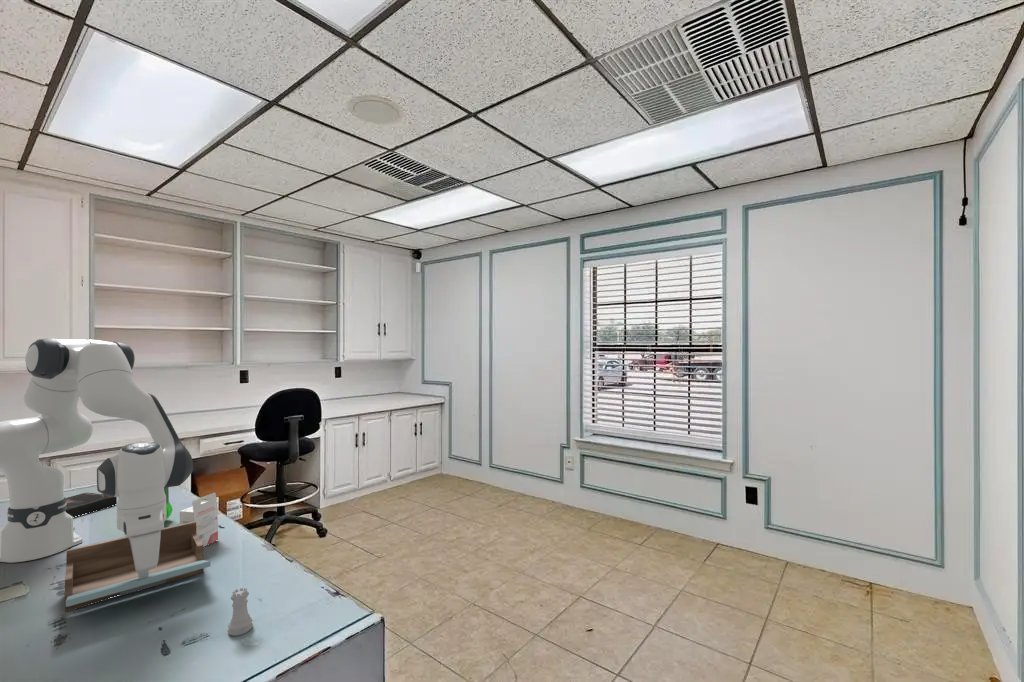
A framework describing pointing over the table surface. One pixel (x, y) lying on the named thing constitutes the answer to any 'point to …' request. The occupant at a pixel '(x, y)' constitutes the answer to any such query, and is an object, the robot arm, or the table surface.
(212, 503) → the ink cartridge box
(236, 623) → the rook chess piece
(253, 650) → the table surface
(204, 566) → the drawer face panel
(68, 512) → the flat black box
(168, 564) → the brown long open box
